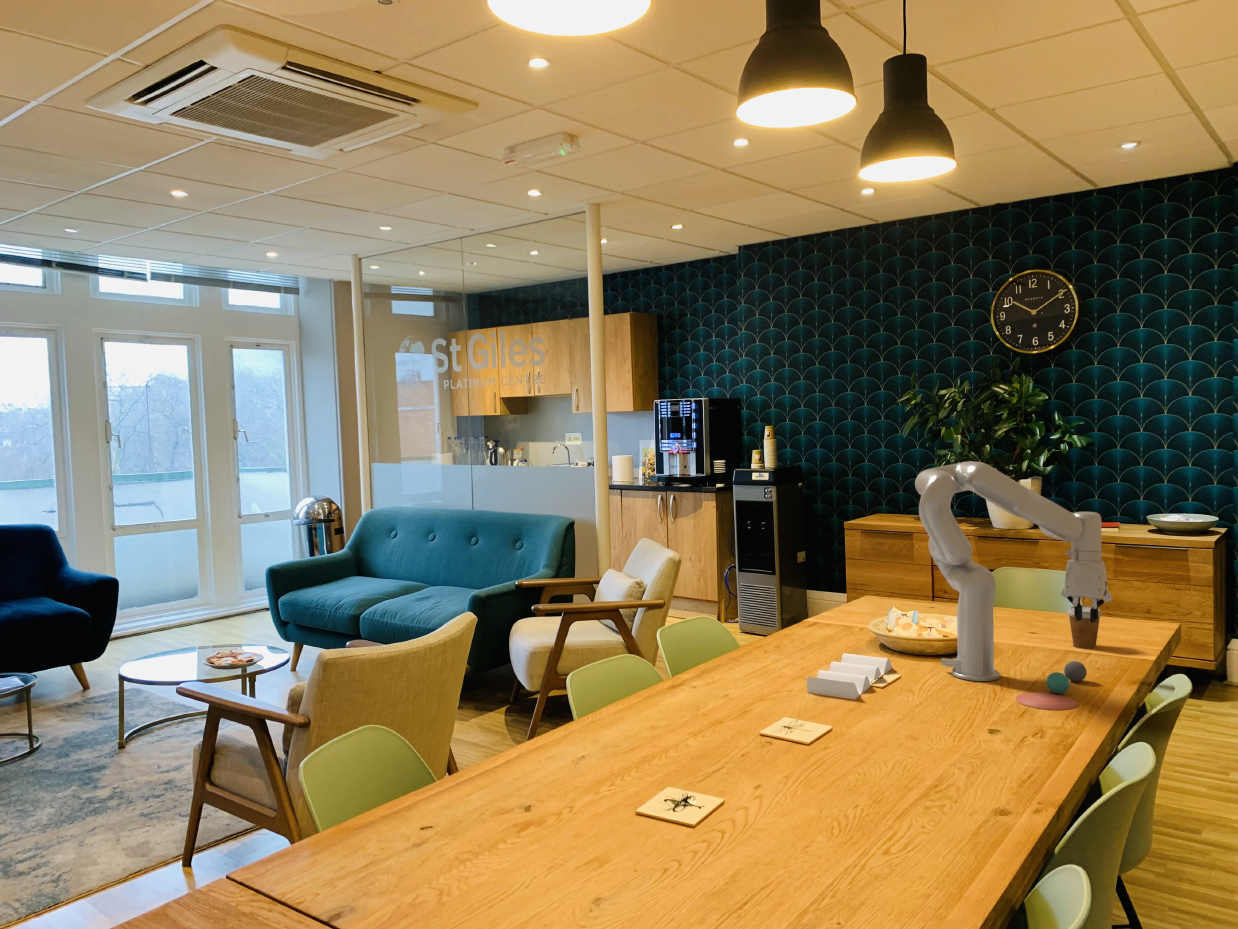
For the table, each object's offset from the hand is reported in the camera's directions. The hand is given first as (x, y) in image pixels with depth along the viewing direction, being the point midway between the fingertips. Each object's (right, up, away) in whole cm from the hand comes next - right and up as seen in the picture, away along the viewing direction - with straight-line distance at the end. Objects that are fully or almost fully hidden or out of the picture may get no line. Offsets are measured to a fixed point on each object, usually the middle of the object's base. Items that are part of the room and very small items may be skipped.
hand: (1086, 620), depth 250 cm
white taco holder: (-66, -18, +1) cm, 68 cm away
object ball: (-16, -14, -16) cm, 27 cm away
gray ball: (-6, -13, -6) cm, 16 cm away
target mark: (-22, -17, -23) cm, 36 cm away
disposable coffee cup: (+15, -14, +30) cm, 37 cm away
